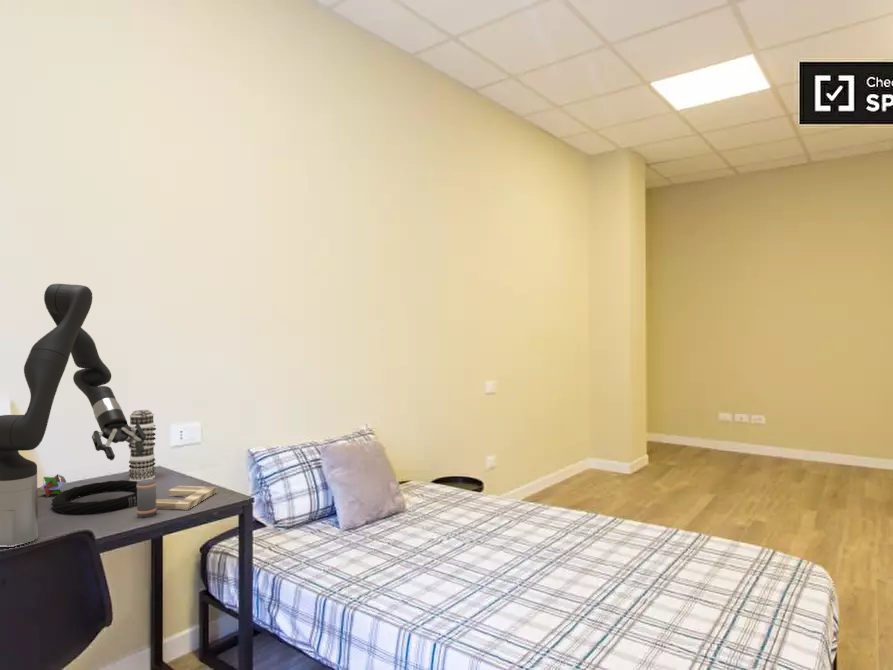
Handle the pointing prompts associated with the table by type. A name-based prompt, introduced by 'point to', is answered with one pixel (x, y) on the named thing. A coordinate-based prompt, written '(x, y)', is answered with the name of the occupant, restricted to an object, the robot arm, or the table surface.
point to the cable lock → (67, 507)
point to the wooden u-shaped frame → (194, 497)
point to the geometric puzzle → (53, 485)
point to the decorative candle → (143, 463)
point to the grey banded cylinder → (146, 498)
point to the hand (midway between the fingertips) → (127, 456)
